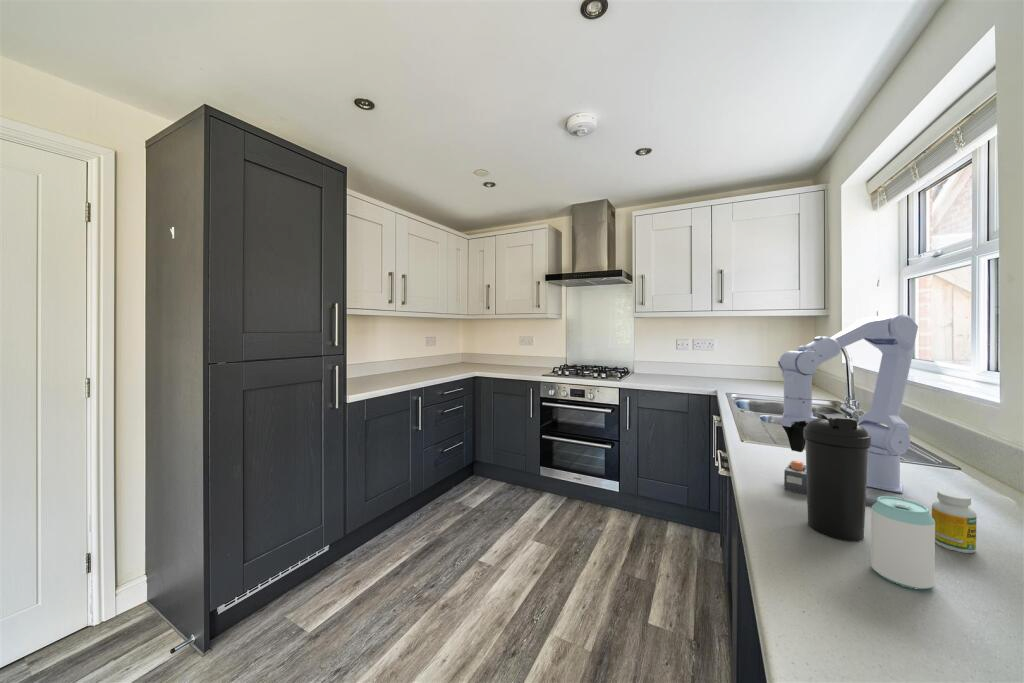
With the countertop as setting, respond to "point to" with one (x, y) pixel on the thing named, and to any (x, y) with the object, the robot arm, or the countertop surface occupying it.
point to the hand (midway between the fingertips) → (797, 450)
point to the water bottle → (836, 476)
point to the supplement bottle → (954, 521)
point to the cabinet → (795, 480)
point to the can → (903, 542)
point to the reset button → (797, 465)
